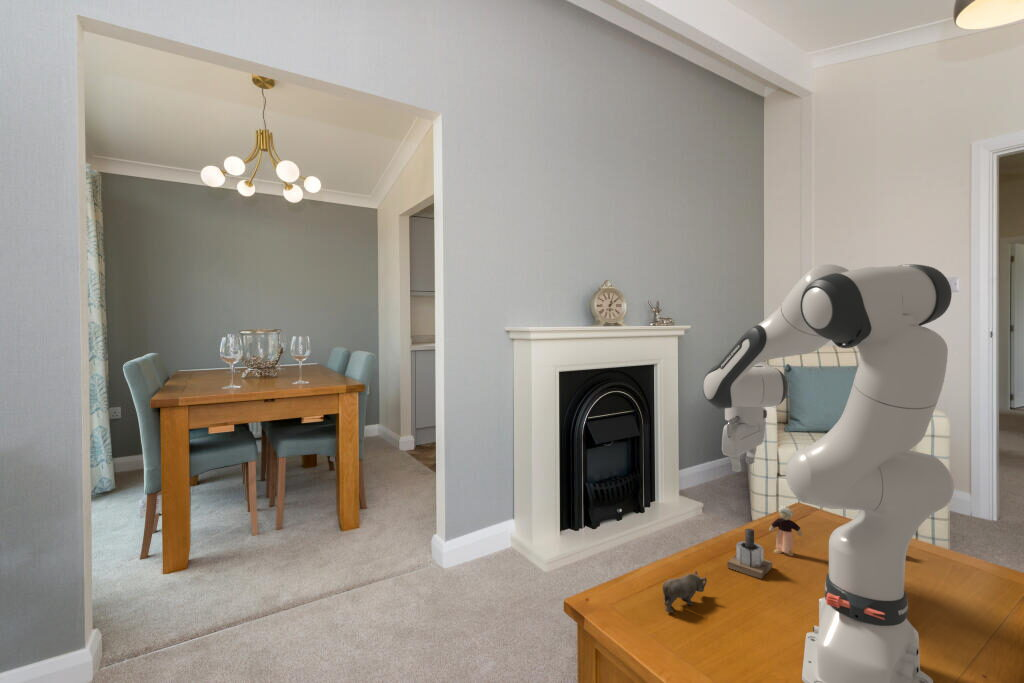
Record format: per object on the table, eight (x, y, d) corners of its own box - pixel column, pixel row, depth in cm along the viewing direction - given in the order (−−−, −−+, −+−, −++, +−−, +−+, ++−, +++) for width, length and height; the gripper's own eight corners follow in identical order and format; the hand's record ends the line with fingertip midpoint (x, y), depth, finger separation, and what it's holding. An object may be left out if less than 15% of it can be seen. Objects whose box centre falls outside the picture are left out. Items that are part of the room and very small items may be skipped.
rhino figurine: (715, 597, 108) (715, 571, 108) (671, 615, 102) (671, 587, 102) (700, 589, 112) (700, 563, 112) (656, 605, 105) (656, 578, 105)
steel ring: (758, 569, 117) (758, 553, 117) (733, 562, 122) (733, 546, 121) (766, 561, 122) (765, 545, 122) (741, 554, 126) (741, 539, 126)
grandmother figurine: (771, 554, 129) (771, 507, 128) (768, 548, 132) (768, 502, 132) (804, 558, 126) (804, 510, 126) (799, 551, 130) (799, 505, 130)
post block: (761, 579, 116) (761, 539, 116) (727, 567, 122) (727, 530, 121) (772, 567, 122) (772, 530, 121) (739, 557, 127) (739, 521, 127)
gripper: (741, 421, 115) (741, 478, 115) (769, 410, 129) (769, 461, 129) (714, 418, 119) (715, 473, 119) (744, 407, 134) (744, 457, 134)
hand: (743, 467), depth 125 cm, fingers open, 8 cm apart
